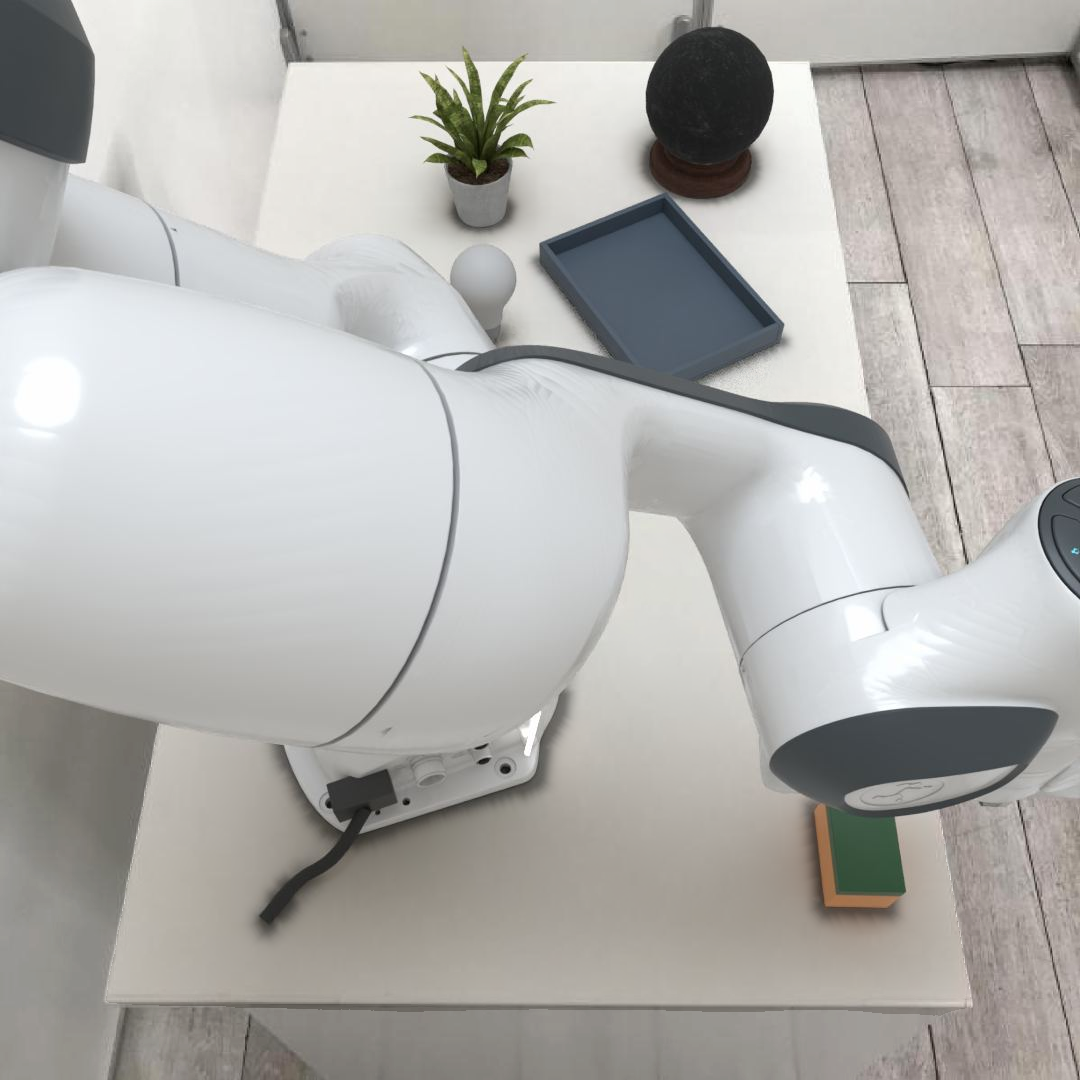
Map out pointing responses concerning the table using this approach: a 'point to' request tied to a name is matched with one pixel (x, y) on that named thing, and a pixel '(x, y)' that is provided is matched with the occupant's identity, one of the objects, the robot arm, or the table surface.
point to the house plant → (478, 144)
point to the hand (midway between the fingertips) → (910, 793)
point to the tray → (660, 291)
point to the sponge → (858, 859)
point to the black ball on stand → (707, 111)
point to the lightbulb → (484, 284)
